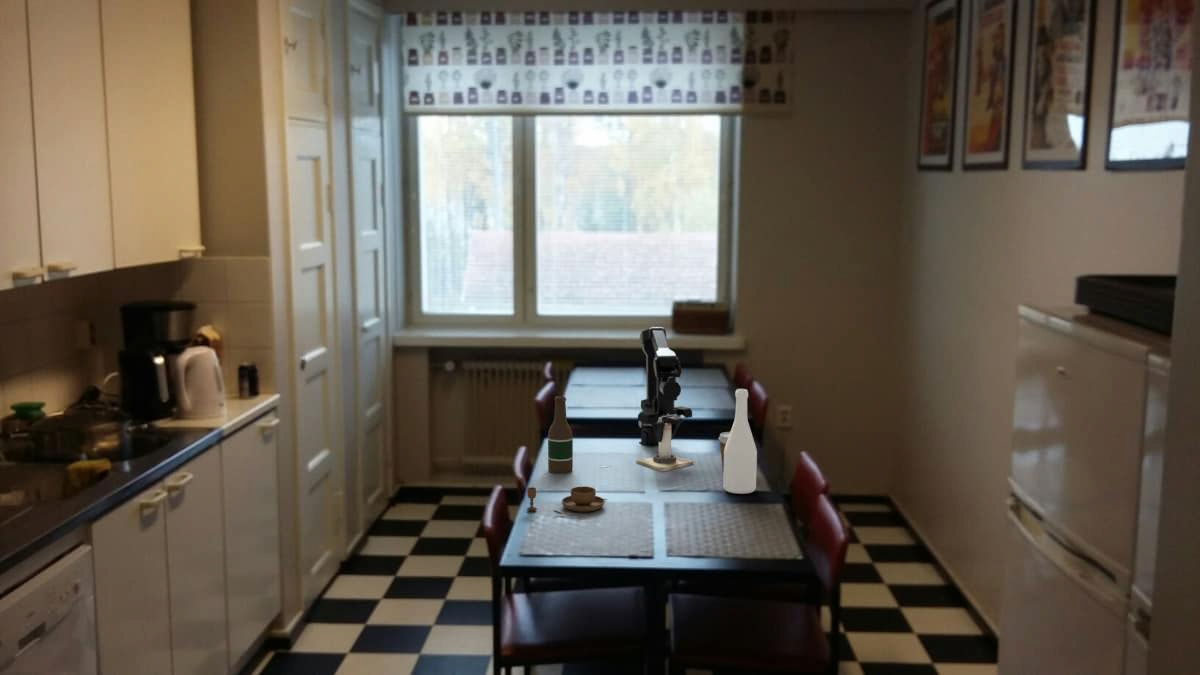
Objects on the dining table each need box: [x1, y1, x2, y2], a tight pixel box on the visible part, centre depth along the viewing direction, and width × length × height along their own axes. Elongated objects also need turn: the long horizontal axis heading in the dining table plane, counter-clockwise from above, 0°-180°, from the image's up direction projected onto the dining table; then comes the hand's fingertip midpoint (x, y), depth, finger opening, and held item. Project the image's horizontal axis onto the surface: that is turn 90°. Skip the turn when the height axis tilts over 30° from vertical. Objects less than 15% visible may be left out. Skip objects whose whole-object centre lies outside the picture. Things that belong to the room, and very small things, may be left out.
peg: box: [658, 422, 672, 459], centre depth 324 cm, size 4×4×12 cm
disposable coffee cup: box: [718, 431, 731, 473], centre depth 316 cm, size 10×10×12 cm
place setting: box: [526, 486, 608, 517], centre depth 282 cm, size 18×20×6 cm
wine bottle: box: [722, 388, 758, 495], centre depth 295 cm, size 10×10×30 cm
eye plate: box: [635, 453, 694, 472], centre depth 325 cm, size 14×12×3 cm
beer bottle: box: [547, 395, 574, 475], centre depth 315 cm, size 8×8×24 cm
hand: (665, 441), depth 324 cm, fingers closed on peg, 4 cm apart
